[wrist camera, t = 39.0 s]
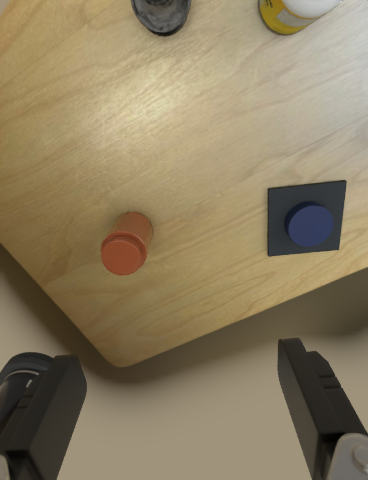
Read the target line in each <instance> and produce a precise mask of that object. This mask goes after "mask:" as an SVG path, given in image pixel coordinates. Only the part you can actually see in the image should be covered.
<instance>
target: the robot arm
mask: <svg viewBox="0 0 368 480" xmlns="http://www.w3.org/2000/svg"><path fill="white" fill-rule="evenodd" d="M278 375H279V381H280V385H281V388H282V391H283V394H284V397H285V400H286V403H287V406H288V409H289V412H290V415H291V418H292V421H293V424H294V427H295V430H296V433H297V436H298V439H299V442H300V445H301V448H302V451H303V454H304V457H305V460H306V463H307V466H308V469H309V472H310V475H311V478H312V480H368V433H367V432H366V430H365V429H364V427H363V425H362V423H361V421H360V419H359V417H358V416H357V414H356V412H355V410H354V408H353V407H352V405H351V403H350V401H349V399H348V397H347V396H346V394H345V392H344V390H343V388H341V385H340V383H339V381H338V379H337V378H336V377H335V374H334V372H333V370H332V368H331V367H330V365H329V363H328V362H327V360H325V359H324V358H323V357H322V356H321V355H320V354H319V353H318V352H316V351H312V352H306V350H305V348H304V346H303V344H302V342H301V340H300V339H299V338H289V339H279V341H278ZM86 391H87V383H86V379H85V376H84V373H83V371H82V368H81V365H80V362H79V359H78V357H77V355H75V354H73V355H60V356H55V357H54V359H53V360H52V362H51V364H50V366H49V368H48V370H46V371H38V370H35V369H29V368H21V369H16V370H14V371H12V372H10V373H9V374H8V375H7V376H6V378H5V379H4V381H3V383H2V385H1V386H0V480H56V479H57V476H58V474H59V471H60V468H61V465H62V462H63V459H64V456H65V454H66V451H67V448H68V445H69V442H70V440H71V437H72V434H73V431H74V428H75V425H76V422H77V420H78V417H79V414H80V411H81V408H82V405H83V403H84V400H85V397H86Z"/></svg>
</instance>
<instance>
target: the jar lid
mask: <svg viewBox="0 0 368 480" xmlns="http://www.w3.org/2000/svg"><path fill="white" fill-rule="evenodd" d="M284 227H285V231H286V233H287V234H288V236H289V237H290V238H291V239H292V241H293V242H295V243H296V244H298V245H300V246H305V247H310V246H315V245H317V244H320V243H321V242H323V241H324V240H325V239H326V238H327V237H328V236H329V235H330V233H331V231H332V229H333V217H332V215H331V213H330V212H329V211H328V210H327V209H326V208H324V207H323V206H322V205H320V204H319V203H316V202H311V201H308V202H302V203H300V204H298V205H296V206H294V207H293V208H292V209H291V210H290V211H289V212H288V214H287V216H286V218H285V222H284Z"/></svg>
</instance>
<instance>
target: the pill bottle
mask: <svg viewBox="0 0 368 480" xmlns="http://www.w3.org/2000/svg"><path fill="white" fill-rule="evenodd" d="M342 1H343V0H258V8H259V13H260V16H261V19H262V21H263V23H264V24H265V26H266V27H267V28H268V29H269V30H271V31H272V32H274V33H276V34H279V35H290V34H294V33H297V32H299V31H301V30H302V29H304V28H305V27H307V26H308V25H310V24H311V23H313V22H315V21H316V20H318V19H319V18H321V17H322V16H324V15H325V14H327V13H328V12H330V11H331V10H333V9H334V8H335V7H336V6H338V5H339V4H340V3H341V2H342Z"/></svg>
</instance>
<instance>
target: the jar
mask: <svg viewBox="0 0 368 480" xmlns="http://www.w3.org/2000/svg"><path fill="white" fill-rule="evenodd" d="M152 235H153V227H152V224H151V222H150V221H149V220H148V219H147V218H146V217H145V216H144V215H142V214H140V213H137V212H127V213H124V214H122V215H120V216H119V217H118V218H117V220H116V221H115V223H114V224H113V226H112V227H111V229H110V231H109V232H108V234H107V235H106V237H105V238H104V240H103V242H102V244H101V259H102V262H103V265H104V266H105V267H106V269H107V270H109V271H110V272H112V273H114V274H116V275H129V274H132V273H134V272H135V271H137V270H138V268H140V267H141V266H142V265H143V264H144V262H145V260H146V257H147V254H148V250H149V246H150V243H151V239H152Z"/></svg>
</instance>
